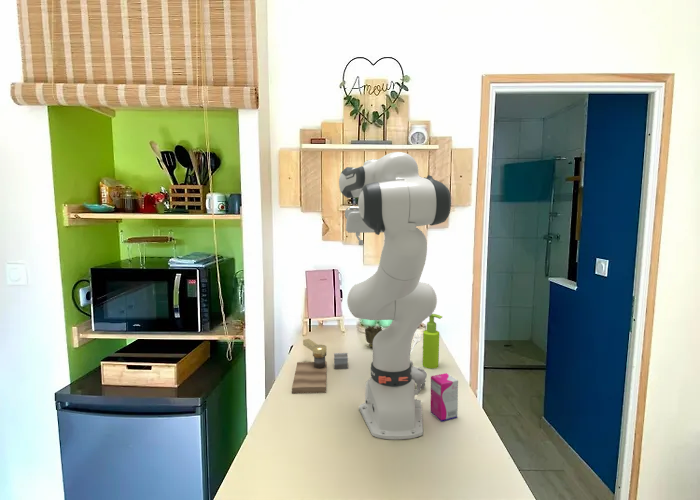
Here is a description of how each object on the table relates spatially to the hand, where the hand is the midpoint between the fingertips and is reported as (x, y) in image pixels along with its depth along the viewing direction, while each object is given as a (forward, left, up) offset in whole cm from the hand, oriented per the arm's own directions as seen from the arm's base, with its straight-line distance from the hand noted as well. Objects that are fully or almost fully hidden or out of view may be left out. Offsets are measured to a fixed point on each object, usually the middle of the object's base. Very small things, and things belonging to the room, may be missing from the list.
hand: (373, 245), depth 145 cm
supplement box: (-35, -17, -46) cm, 60 cm away
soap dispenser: (-1, -22, -46) cm, 51 cm away
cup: (+19, -2, -46) cm, 50 cm away
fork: (+21, -20, -47) cm, 55 cm away
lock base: (-8, +19, -46) cm, 50 cm away
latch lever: (0, +22, -40) cm, 45 cm away
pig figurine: (-17, -10, -46) cm, 50 cm away
